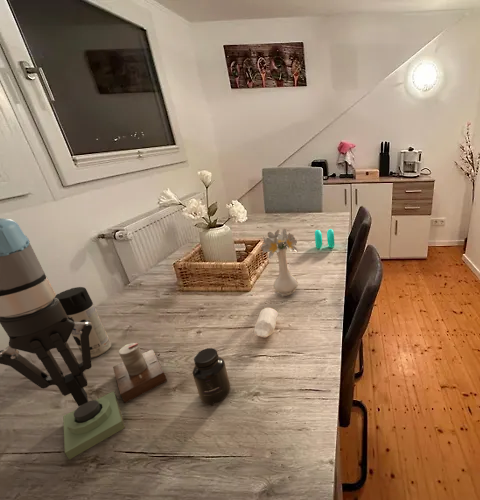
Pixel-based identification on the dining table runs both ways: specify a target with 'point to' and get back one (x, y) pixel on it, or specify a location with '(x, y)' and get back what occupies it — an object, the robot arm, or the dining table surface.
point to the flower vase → (281, 260)
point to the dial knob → (133, 358)
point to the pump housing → (92, 426)
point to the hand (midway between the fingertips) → (82, 400)
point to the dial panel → (139, 378)
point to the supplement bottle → (210, 376)
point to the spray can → (81, 310)
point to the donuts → (329, 238)
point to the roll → (266, 322)
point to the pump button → (87, 411)
